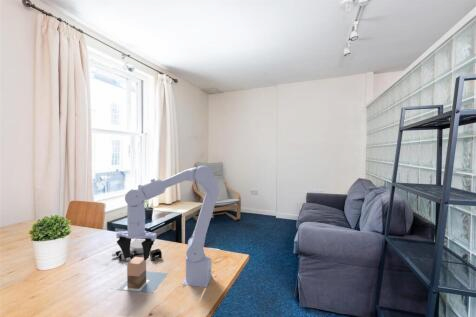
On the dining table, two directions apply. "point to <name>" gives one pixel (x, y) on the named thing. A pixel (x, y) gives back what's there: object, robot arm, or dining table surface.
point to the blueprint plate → (147, 282)
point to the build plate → (155, 254)
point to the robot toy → (131, 250)
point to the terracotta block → (136, 266)
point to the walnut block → (136, 281)
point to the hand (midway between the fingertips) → (136, 258)
